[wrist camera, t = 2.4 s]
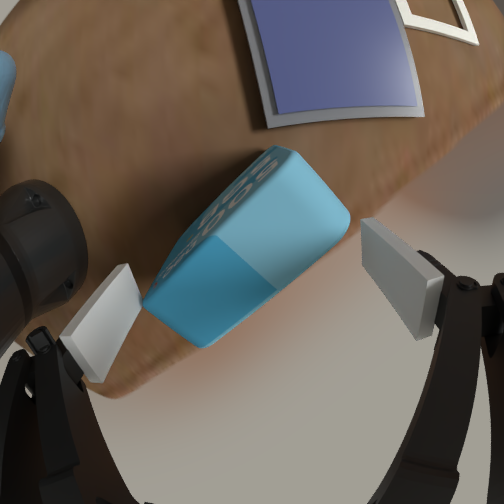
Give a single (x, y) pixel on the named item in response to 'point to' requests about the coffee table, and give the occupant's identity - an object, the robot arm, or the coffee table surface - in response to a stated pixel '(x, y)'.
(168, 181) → the coffee table surface
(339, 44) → the ink pad
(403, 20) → the frame
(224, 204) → the data package
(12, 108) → the coffee table surface
